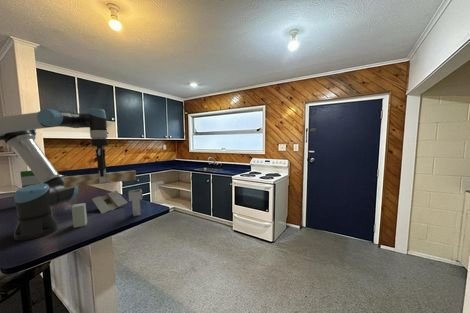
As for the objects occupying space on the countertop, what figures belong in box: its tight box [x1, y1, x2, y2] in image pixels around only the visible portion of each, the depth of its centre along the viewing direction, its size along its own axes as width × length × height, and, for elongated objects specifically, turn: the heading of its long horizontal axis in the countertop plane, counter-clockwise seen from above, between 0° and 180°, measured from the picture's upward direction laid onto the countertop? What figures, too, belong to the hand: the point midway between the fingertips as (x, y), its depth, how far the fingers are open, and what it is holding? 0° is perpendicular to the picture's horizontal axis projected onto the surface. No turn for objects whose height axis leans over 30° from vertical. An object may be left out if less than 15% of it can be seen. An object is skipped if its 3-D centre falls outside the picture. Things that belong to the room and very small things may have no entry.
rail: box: [63, 170, 137, 188], centre depth 105 cm, size 32×4×5 cm, turn 119°
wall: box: [91, 190, 129, 214], centre depth 130 cm, size 16×9×15 cm
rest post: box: [71, 202, 88, 229], centre depth 103 cm, size 5×5×11 cm
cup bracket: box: [128, 188, 143, 217], centre depth 116 cm, size 7×7×14 cm
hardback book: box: [20, 170, 40, 188], centre depth 141 cm, size 18×7×24 cm, turn 137°
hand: (103, 181), depth 105 cm, fingers closed on rail, 3 cm apart
